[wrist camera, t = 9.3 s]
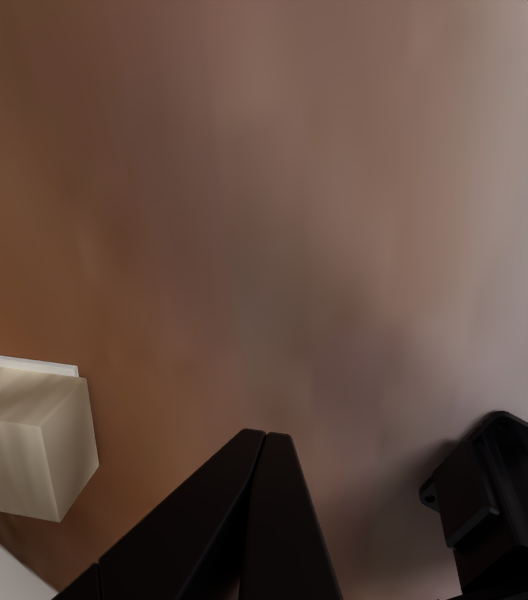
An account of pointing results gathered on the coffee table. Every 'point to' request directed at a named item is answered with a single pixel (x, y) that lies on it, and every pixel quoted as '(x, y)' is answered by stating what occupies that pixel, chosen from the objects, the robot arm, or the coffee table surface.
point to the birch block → (44, 442)
